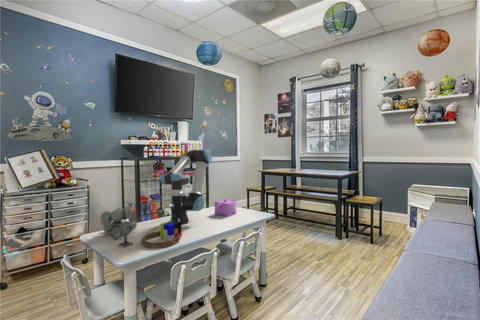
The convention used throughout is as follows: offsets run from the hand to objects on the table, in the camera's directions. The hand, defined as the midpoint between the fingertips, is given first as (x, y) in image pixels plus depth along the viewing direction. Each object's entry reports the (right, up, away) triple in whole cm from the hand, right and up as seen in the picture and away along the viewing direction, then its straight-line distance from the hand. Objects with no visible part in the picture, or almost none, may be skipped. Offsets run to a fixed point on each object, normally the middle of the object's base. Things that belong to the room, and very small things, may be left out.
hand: (177, 227), depth 187 cm
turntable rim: (-8, -5, -16) cm, 19 cm away
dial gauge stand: (-27, -6, -20) cm, 34 cm away
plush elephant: (-43, -6, +1) cm, 43 cm away
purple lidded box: (+32, -2, +56) cm, 65 cm away
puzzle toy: (-3, -5, -7) cm, 9 cm away
